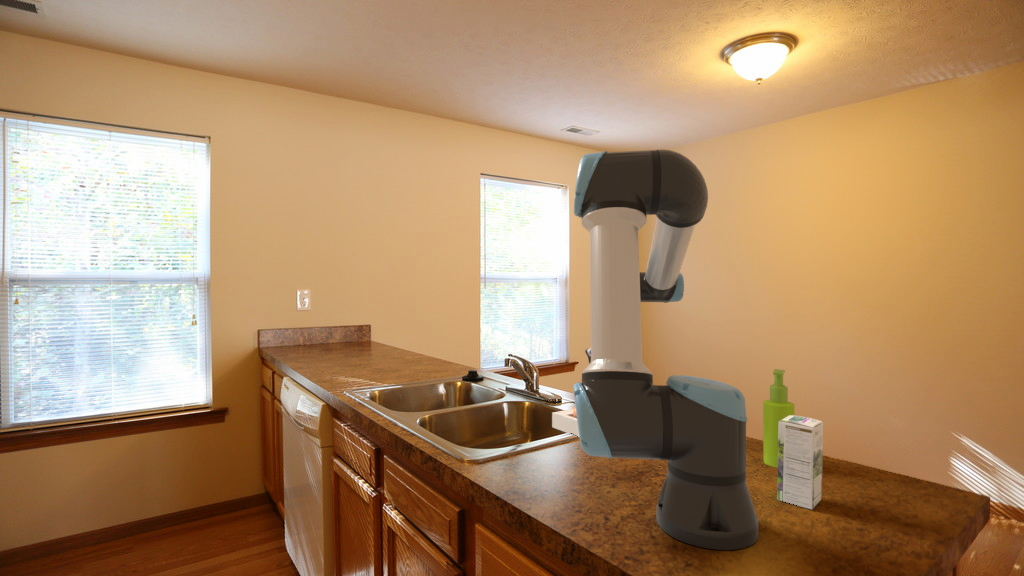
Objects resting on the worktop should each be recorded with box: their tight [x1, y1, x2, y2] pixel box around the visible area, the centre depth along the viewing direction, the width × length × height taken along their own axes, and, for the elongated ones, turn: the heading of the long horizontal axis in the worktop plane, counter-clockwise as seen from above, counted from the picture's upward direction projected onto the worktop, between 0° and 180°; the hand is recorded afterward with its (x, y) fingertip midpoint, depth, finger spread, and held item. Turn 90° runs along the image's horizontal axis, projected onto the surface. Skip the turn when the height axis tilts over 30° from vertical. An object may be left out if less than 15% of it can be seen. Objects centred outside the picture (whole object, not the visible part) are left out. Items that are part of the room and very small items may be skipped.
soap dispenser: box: [762, 368, 795, 469], centre depth 108 cm, size 6×7×20 cm
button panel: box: [551, 408, 580, 438], centre depth 137 cm, size 26×14×4 cm, turn 125°
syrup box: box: [776, 415, 824, 510], centre depth 89 cm, size 6×6×14 cm
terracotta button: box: [572, 406, 577, 418], centre depth 132 cm, size 5×5×3 cm
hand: (605, 408), depth 137 cm, fingers closed
